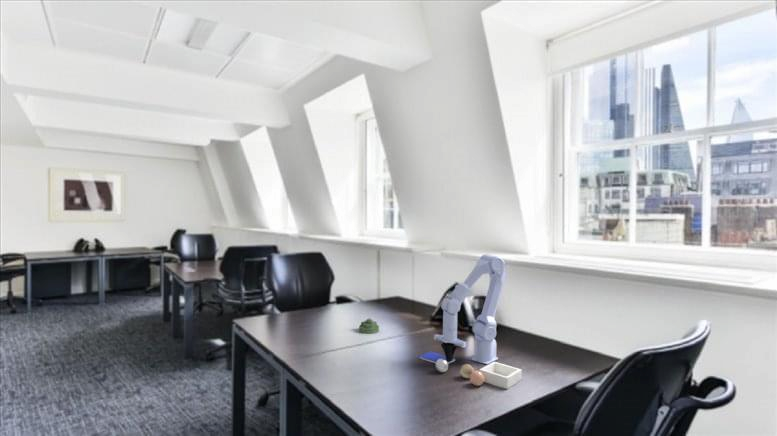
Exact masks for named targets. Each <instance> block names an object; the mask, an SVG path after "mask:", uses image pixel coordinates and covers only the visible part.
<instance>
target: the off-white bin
mask: <svg viewBox="0 0 777 436" xmlns="http://www.w3.org/2000/svg"><path fill="white" fill-rule="evenodd" d="M478 371H480V372H481V373H482V374H483V376H484V382H483V383H485V384H486V383H487V384H488V385H489V384H490V385H493V386H496V387H499V388H502V389H505V390H509V389H511V388H513V387H514V386H516V384H518V383H519V382H522V379H523V378H522V377H523V375H522V374H523V370H522V368H521V369H520V368H517V367H514V366H511V365H509V364H504V363H501V362H497V361H493V362H491V363H489V364H486V366H483V367H482V368H480V369H479V370H478Z"/></svg>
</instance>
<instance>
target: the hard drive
mask: <svg viewBox="0 0 777 436" xmlns="http://www.w3.org/2000/svg"><path fill="white" fill-rule="evenodd" d="M419 359H421V360H423V361H427V362H429V363H433V364H436V361H437V360H438V359H445V360H446V356H445V354H440V353H437V352H433V351H428V352H427V353H423V354H422V355H419ZM455 361H456V358H454V357H453V358H452V361H450V362H448V361H447V362H448V365H450V364H452V363H454V362H455Z"/></svg>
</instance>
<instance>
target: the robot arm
mask: <svg viewBox="0 0 777 436" xmlns="http://www.w3.org/2000/svg"><path fill="white" fill-rule="evenodd" d="M505 268H506V262H505V261H504V258H503V257H501V256H498V255H493V254H489V253H484V254H482V255H481V256H480V258H479V259H477V261H476V265H475V266H474V268H472V270H471V272H470V273H469V275H467V277H466V279H465V280H464V281H463V282H461V283H458V284H456V285H455V286H454V289H453V290H452V292H451V293H450V294H448V295H447V297H444V298H443V299H442V302H441V303H440V307H441V309H442V311H443V314H442V334H434V335H433V340H434V341H440V342H442V343H441V345H440V346H441V348H442V350H443V353H444V356H446V361H448V362H450V361H452V358H454V354H455V351H456V349H457V348H458V347H461V348H462V349H463V348H467V341H465V340H461V339H460V338H458V312H460V310H461V306H462V304H463V303H464V301H465V300H466V298H467V297H468V296H469V294H471V288H472V287H473V285H474V284H475V283H477V281H478V280H479V279H480V278H481V277H482V276H483V275H486V274H488V275H489V276H490V282H489V286H488V290H487V293H486V297H485V299H484V303H483V308H482V311H481V314H479V315H478V316H477V317H476V320H475V322H474V323H473V324H472V333H474V337H475V339H474V340H475V341H474V356H472V357H471V358H470V361H474V362H476V363H479V364H484V365H489V364H491V363H493V362H496V361H497V360H499V357H498V356H497V341H496V336H497V321H496V320H495V317H496V312H497V310H498V306H499V303H500V299H501V296H502V292H503V289H504V285H505V281H506V270H505Z"/></svg>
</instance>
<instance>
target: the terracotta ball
mask: <svg viewBox="0 0 777 436" xmlns="http://www.w3.org/2000/svg"><path fill="white" fill-rule="evenodd" d="M469 380H470V382H471V384H472V385H473V386H476V387H478V386H481V385H482V384H483V383H485V382H484V376H483V374H482V373H481V372H480V371H479V370H474V372H472V373H471V375H470V378H469Z"/></svg>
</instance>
